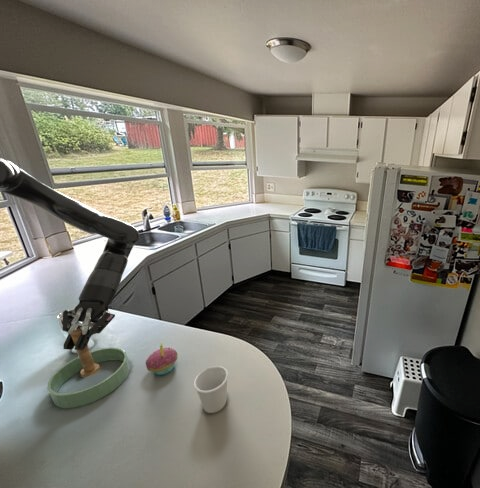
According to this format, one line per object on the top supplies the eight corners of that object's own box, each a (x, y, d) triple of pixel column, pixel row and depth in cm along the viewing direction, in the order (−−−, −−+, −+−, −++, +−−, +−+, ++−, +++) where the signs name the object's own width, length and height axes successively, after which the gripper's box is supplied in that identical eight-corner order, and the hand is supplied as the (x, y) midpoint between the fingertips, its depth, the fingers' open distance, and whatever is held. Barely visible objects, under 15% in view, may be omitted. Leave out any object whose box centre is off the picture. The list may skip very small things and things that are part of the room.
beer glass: (92, 339, 92) (80, 304, 87) (100, 346, 89) (88, 311, 83) (66, 351, 86) (52, 314, 81) (74, 359, 83) (60, 322, 78)
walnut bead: (79, 379, 75) (75, 376, 76) (89, 376, 77) (85, 373, 78) (81, 371, 75) (77, 368, 76) (91, 368, 77) (87, 365, 78)
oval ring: (42, 421, 64) (34, 406, 62) (66, 372, 78) (61, 358, 76) (125, 394, 72) (121, 379, 70) (134, 353, 86) (130, 341, 84)
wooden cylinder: (79, 379, 69) (63, 338, 65) (83, 369, 73) (69, 329, 68) (97, 374, 71) (84, 334, 66) (101, 364, 74) (88, 325, 70)
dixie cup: (207, 426, 64) (202, 398, 61) (193, 406, 69) (188, 378, 66) (237, 404, 70) (234, 377, 67) (222, 386, 75) (218, 360, 72)
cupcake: (185, 367, 82) (179, 337, 78) (157, 386, 75) (149, 354, 71) (170, 356, 86) (163, 327, 82) (143, 373, 79) (134, 343, 75)
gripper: (67, 281, 71) (33, 347, 63) (115, 284, 70) (86, 350, 63) (89, 288, 78) (61, 348, 70) (133, 291, 77) (109, 351, 70)
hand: (73, 349), depth 67 cm, fingers closed on wooden cylinder, 2 cm apart
